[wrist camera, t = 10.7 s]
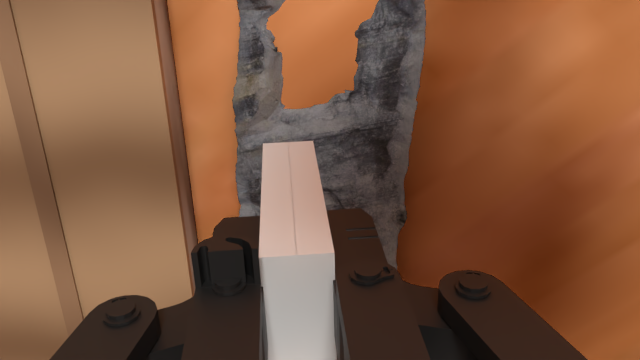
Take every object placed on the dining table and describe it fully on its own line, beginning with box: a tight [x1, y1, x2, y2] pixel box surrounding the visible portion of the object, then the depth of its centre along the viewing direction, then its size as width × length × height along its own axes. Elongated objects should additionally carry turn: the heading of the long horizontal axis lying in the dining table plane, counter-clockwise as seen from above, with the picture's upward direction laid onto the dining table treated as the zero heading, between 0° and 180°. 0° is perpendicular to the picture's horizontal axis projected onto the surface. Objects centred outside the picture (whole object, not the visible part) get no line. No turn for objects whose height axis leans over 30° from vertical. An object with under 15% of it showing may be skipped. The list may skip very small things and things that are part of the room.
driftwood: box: [232, 0, 426, 360], centre depth 20 cm, size 21×7×2 cm, turn 177°
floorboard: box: [0, 0, 198, 360], centre depth 19 cm, size 24×8×2 cm, turn 2°
